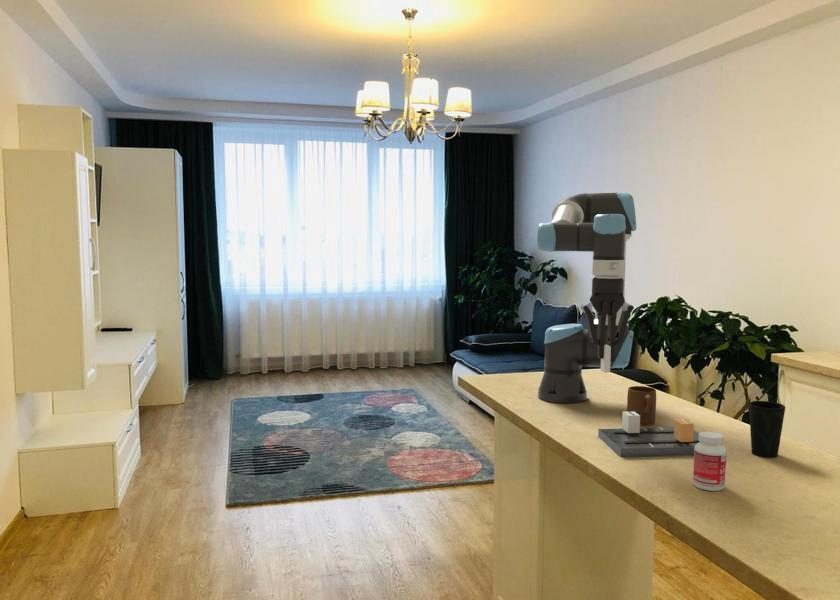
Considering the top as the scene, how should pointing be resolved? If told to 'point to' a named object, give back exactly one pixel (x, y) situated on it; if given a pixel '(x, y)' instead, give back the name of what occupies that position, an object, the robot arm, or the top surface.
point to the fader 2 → (683, 430)
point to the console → (647, 442)
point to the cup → (766, 427)
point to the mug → (642, 403)
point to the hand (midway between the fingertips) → (605, 371)
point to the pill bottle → (709, 462)
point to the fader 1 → (631, 422)
